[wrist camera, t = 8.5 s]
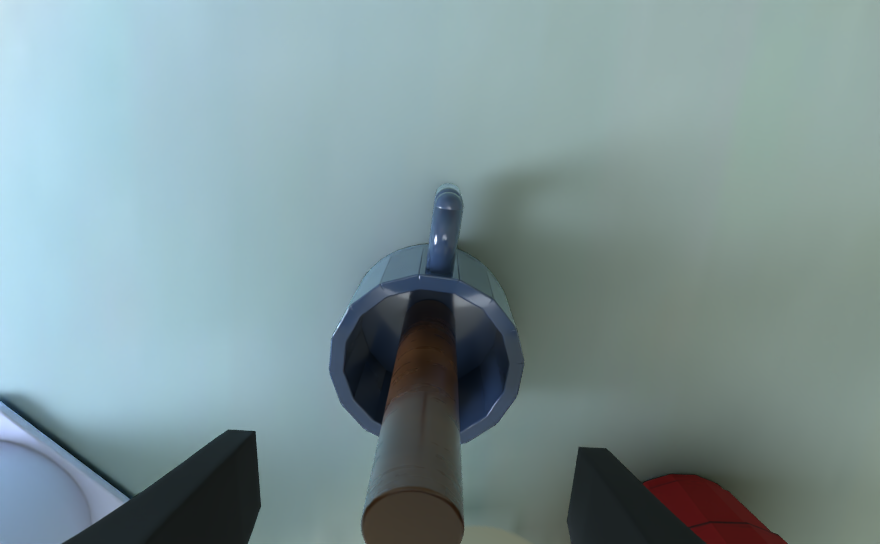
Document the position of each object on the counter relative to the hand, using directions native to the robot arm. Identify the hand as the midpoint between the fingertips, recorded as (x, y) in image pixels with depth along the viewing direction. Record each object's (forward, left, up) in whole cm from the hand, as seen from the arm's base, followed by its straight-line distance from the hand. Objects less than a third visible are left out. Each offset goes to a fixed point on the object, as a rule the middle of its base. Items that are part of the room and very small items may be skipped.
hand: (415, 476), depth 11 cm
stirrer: (0, 0, -8) cm, 9 cm away
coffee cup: (+1, +1, -9) cm, 9 cm away
